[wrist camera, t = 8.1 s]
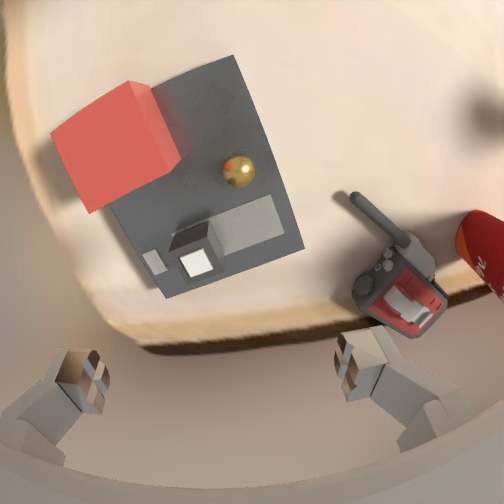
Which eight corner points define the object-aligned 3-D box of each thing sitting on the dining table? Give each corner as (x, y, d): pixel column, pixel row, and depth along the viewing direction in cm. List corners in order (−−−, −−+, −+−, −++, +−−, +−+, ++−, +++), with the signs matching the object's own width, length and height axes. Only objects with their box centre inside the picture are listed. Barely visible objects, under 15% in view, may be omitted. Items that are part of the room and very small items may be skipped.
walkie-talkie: (452, 279, 29) (353, 179, 22) (472, 300, 25) (377, 195, 18) (406, 330, 32) (289, 258, 25) (421, 353, 28) (301, 288, 21)
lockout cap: (81, 125, 16) (49, 133, 12) (148, 85, 15) (128, 80, 12) (113, 193, 18) (89, 214, 15) (181, 158, 18) (169, 172, 14)
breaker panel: (87, 131, 18) (70, 135, 15) (232, 59, 17) (233, 52, 14) (169, 285, 25) (164, 304, 22) (299, 237, 24) (307, 253, 21)
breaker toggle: (174, 235, 20) (167, 253, 18) (208, 221, 20) (206, 238, 18) (190, 266, 22) (187, 287, 19) (224, 253, 21) (224, 273, 19)
